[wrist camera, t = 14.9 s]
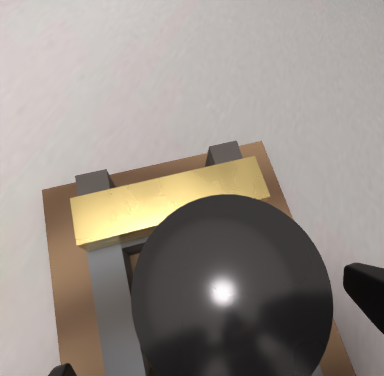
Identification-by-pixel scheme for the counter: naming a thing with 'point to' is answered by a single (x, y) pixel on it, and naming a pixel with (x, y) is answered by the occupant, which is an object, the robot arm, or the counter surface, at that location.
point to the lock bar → (157, 201)
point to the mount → (129, 273)
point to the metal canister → (231, 292)
